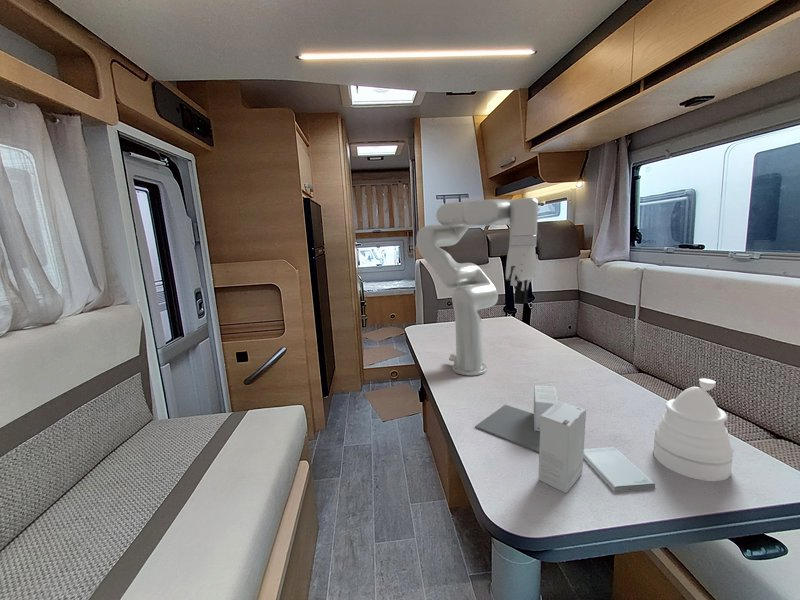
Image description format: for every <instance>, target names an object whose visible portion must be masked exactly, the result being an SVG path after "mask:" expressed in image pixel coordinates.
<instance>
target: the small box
mask: <svg viewBox="0 0 800 600" xmlns="http://www.w3.org/2000/svg"><path fill="white" fill-rule="evenodd" d="M557 401H559V398H558V392H557V389H556V386H550V385H549V386H548V385H536V384H535V385H534V386H533V414H534V430H535V431H540V420H541V415H542V414H543V413H544V412H545V411H547V410H548V409H549V408H550V407H551V406H552V405H554V404H555V403H556V402H557Z"/></svg>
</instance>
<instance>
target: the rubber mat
mask: <svg viewBox="0 0 800 600" xmlns="http://www.w3.org/2000/svg"><path fill="white" fill-rule="evenodd" d="M474 428H476V429H478V430H481V431H483V432H485V433H488V434H491V435H494V436H496V437H497V438H501V439H503V440H504V441H508V442H510V443H514V444H515V445H518V446H521V447H523V448H525V449H528V450H530V451H533V452H536V453H538V454H539V448H540V431H535V430H534V412H533V413H532V412H530V411H526V410H523V409H520V408H518V407H514V406H511V405H508V404H504V405H502V406H501V407H499V409H497V410H496V411H494V412H492V414H490V415H489V416H487V417H486V418H484V419H483V420H482V421H480V422H478V423H477V424H476V425H474Z"/></svg>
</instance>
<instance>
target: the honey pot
mask: <svg viewBox="0 0 800 600" xmlns="http://www.w3.org/2000/svg"><path fill="white" fill-rule="evenodd" d="M698 383H699V386H700V387H699V386H691V387H688V388H686V389H684V390H683V391H682V392H681V393H679V394H678V396H676V398H671V399H669V400H667V401H666V402H665V409H666V411H665V413H663V415H662V416H661V420H660V421H659V422H658V423H659V424H658V425H657V426H656V427H655V429H654V440H653V441H654V442H653V451H652V452H653V456H654V458H655V459H656V460H657V461H658V462H659V463H660V464H662V465H663V466H664V467H666V468H667V469H668V470H671V471H673V472H675V473H677V474H680V475H682V476H685V477H688V478H692V479H695V480H699V481H706V482H720V481H725V480H727V479H728V478H730V476H731V475H732V474H731V473H732V468H733V467H732V465H733V457H734V454H733V453H734V448H733V444H732V442H731V439H730V435H729V430H728V428H727V427H726V425H725V423H726V422H727V420H728V414H727V413H726V412H725V411H724V410H723V409H721V408H720V407H718V406H717V404H716V401H715V400H714V399H713V398H712V396H711V395H710V393H708V392H707V391H711V390H713V389H714V388H715V386H716V383H717V382H716V381H715V380H713V379H710V378H705V377H702V378H699V379H698Z"/></svg>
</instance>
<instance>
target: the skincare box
mask: <svg viewBox="0 0 800 600" xmlns="http://www.w3.org/2000/svg"><path fill="white" fill-rule="evenodd" d="M586 416H587V410H586V409H585V408H583V407H579V406H577V405H572V404H570V403H568V402H567V403H566V402H564V401H561V400H558V401H557V402H556V403H555V404H554V405H552V406H551V407H550V408H549V409H548V410H547V411H545V412H544V413H543V414H542V415H541V420H540V448H539V453H538V454H539V455H538V480H539V481H540V482H542V483H544V484H546V485H549V486H551V487H553V488H555V489H556V490H558V491H560V492H562V493H564V494H568V492H569V491H570V490H571V488H572V487H573V485H574V484H575V483H576V482H577V481H578V479H579V478H580V476H582V474H583V471H584V469H583V468H584V458H583V454H584V449H585V435H586V419H587V417H586Z"/></svg>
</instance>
